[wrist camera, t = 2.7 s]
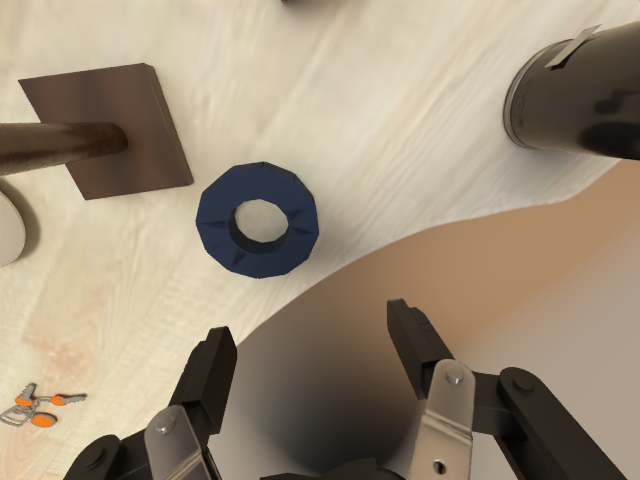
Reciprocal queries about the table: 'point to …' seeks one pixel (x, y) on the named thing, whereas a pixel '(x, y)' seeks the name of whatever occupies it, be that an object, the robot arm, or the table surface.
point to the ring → (233, 244)
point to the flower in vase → (10, 232)
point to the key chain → (36, 419)
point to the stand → (99, 132)
